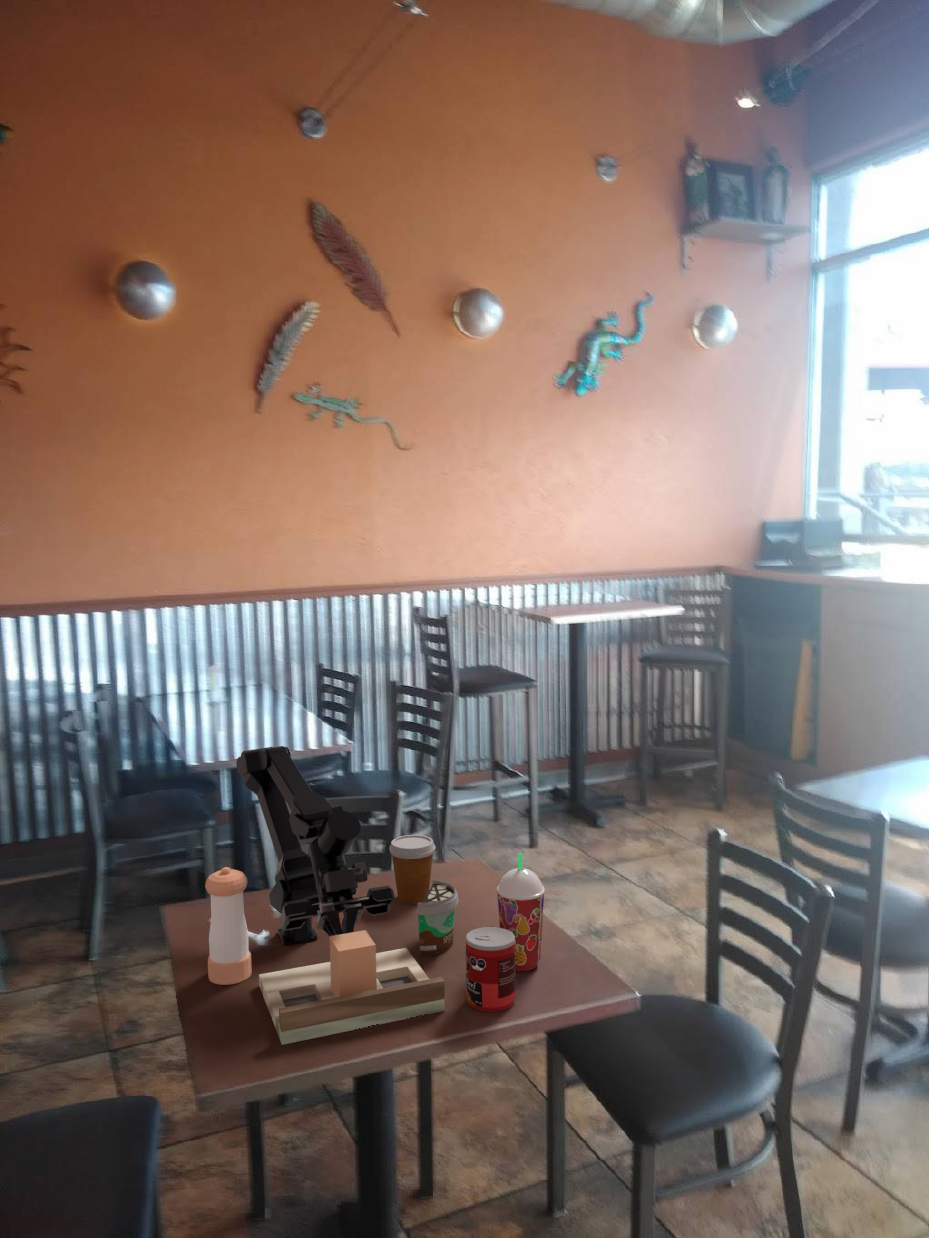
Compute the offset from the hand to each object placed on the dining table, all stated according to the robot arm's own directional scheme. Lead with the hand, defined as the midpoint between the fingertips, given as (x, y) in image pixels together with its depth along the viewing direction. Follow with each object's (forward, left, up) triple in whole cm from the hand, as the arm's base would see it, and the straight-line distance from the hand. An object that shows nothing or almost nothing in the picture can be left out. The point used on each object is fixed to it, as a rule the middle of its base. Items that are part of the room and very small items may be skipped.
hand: (348, 956), depth 159 cm
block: (+3, 0, -5) cm, 6 cm away
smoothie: (0, +31, -7) cm, 32 cm away
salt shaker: (-16, -17, -7) cm, 24 cm away
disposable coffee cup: (-36, +23, -7) cm, 43 cm away
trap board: (0, 0, -7) cm, 7 cm away
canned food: (+10, +21, -7) cm, 24 cm away
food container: (-13, +21, -7) cm, 25 cm away
